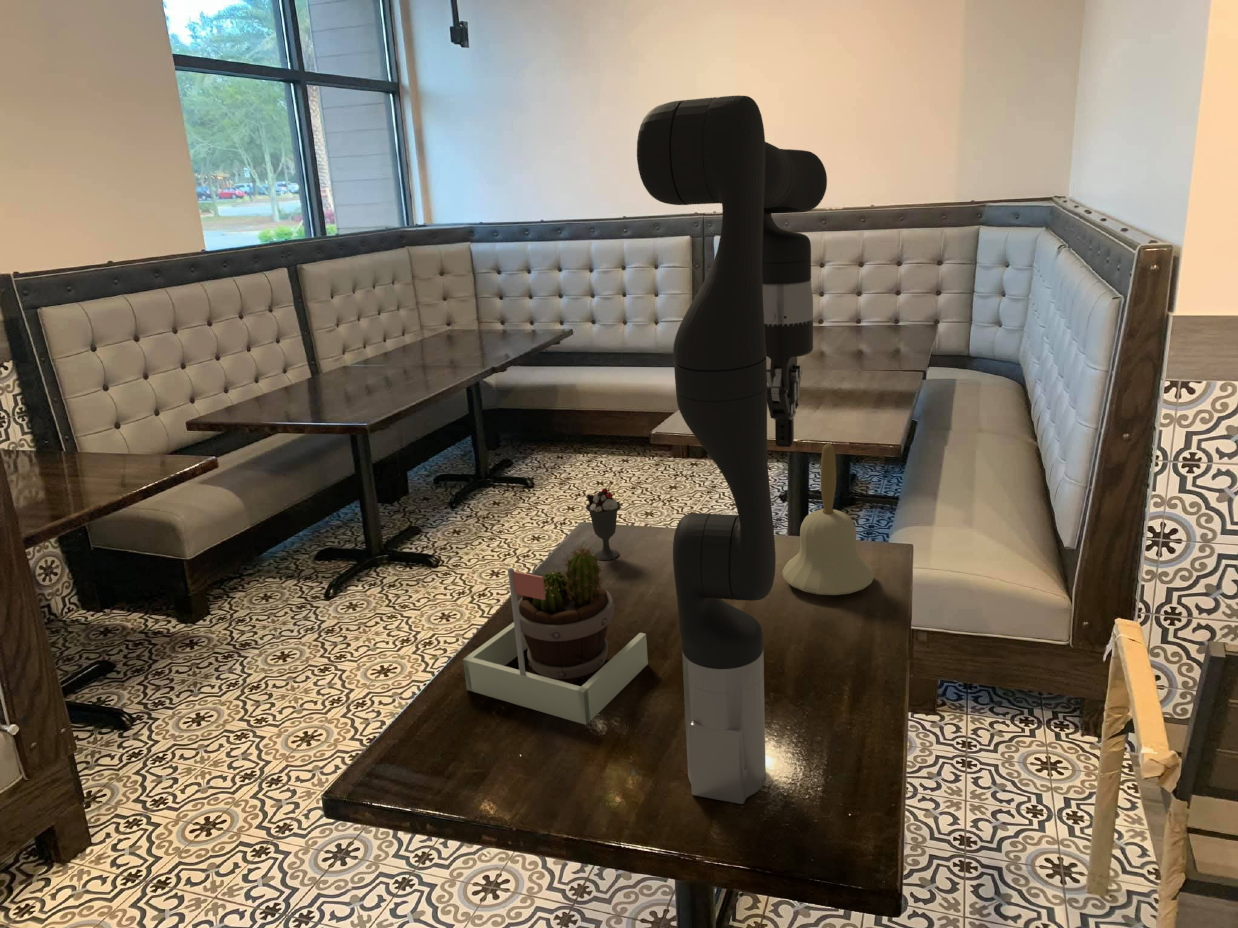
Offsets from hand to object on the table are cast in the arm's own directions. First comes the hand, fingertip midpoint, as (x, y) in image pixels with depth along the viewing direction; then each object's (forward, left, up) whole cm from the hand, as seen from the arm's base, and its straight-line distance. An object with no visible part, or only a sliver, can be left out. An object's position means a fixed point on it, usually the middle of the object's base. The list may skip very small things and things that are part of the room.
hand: (784, 444), depth 121 cm
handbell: (+27, -2, -33) cm, 43 cm away
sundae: (+30, +40, -33) cm, 60 cm away
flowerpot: (-9, +31, -33) cm, 46 cm away
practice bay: (-12, +31, -33) cm, 47 cm away
